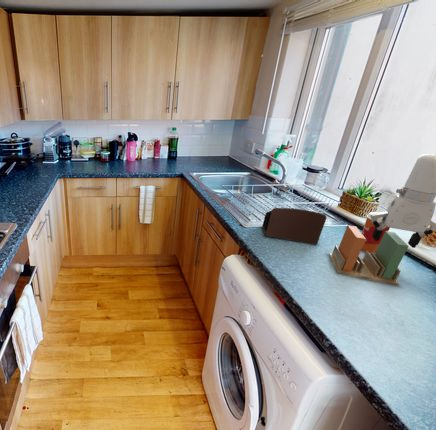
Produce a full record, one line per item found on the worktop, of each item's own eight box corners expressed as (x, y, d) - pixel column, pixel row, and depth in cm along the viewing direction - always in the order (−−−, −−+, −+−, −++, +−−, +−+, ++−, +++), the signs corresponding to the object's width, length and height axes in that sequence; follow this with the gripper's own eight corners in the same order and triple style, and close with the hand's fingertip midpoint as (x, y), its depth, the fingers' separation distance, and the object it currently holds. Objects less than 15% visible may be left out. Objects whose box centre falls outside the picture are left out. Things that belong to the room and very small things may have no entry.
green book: (379, 263, 104) (394, 232, 99) (391, 279, 96) (408, 246, 90) (370, 262, 105) (385, 231, 99) (381, 277, 96) (398, 244, 91)
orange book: (343, 257, 108) (356, 226, 102) (351, 271, 99) (366, 239, 94) (335, 255, 109) (347, 225, 103) (342, 269, 100) (356, 237, 95)
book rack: (381, 265, 105) (387, 253, 103) (397, 285, 94) (404, 273, 92) (328, 254, 111) (333, 243, 109) (337, 273, 100) (342, 261, 98)
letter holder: (317, 244, 118) (328, 213, 112) (264, 236, 123) (272, 206, 117) (310, 234, 126) (321, 204, 120) (261, 226, 132) (269, 198, 126)
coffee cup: (356, 242, 121) (370, 209, 114) (381, 250, 115) (398, 216, 109) (351, 248, 116) (365, 214, 109) (376, 257, 110) (393, 222, 104)
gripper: (387, 194, 88) (365, 242, 95) (462, 204, 82) (432, 254, 90) (378, 186, 94) (357, 232, 102) (447, 195, 89) (420, 243, 96)
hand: (392, 242), depth 96 cm, fingers open, 9 cm apart
